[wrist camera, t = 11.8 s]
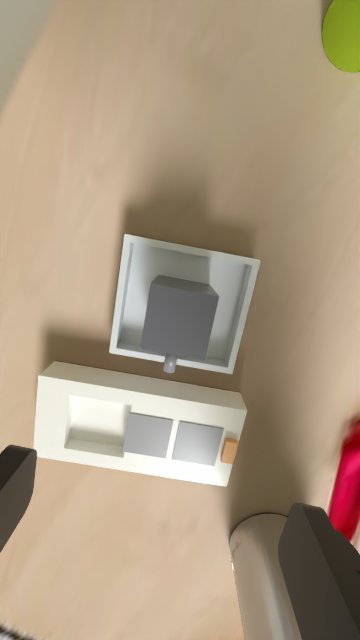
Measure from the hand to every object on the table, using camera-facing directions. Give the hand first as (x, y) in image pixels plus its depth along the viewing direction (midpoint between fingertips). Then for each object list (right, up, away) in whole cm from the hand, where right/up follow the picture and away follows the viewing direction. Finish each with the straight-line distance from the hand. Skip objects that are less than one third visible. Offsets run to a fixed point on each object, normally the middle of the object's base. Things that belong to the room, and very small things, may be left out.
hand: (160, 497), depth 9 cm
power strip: (-4, -5, +23) cm, 23 cm away
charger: (+1, +7, +19) cm, 20 cm away
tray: (+1, +7, +19) cm, 21 cm away
